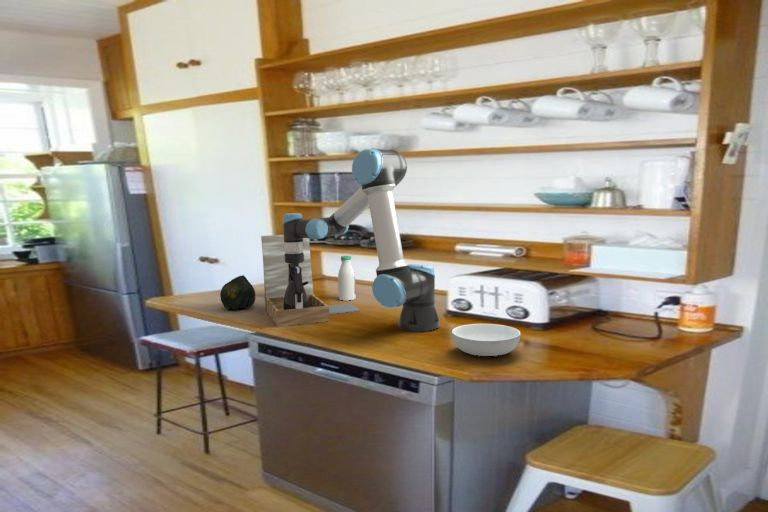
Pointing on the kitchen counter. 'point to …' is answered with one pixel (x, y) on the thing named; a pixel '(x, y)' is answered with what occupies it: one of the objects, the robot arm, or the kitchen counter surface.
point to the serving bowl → (486, 339)
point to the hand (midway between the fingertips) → (296, 307)
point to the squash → (237, 293)
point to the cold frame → (278, 282)
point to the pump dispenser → (290, 297)
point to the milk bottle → (346, 280)
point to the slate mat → (342, 308)
